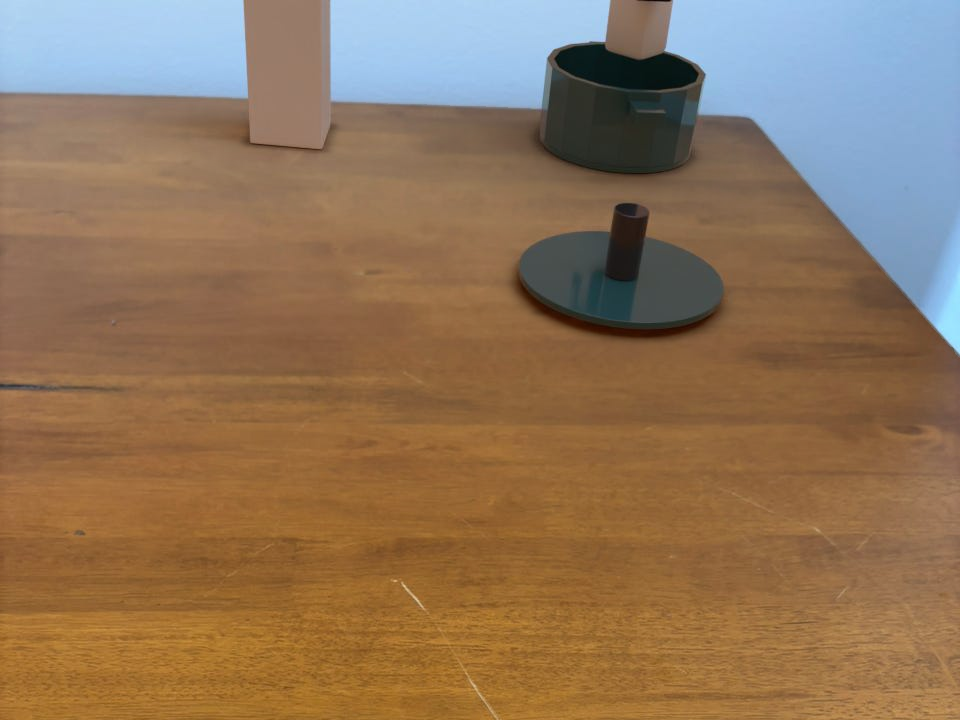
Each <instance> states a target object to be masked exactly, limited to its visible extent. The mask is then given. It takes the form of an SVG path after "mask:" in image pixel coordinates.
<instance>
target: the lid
mask: <svg viewBox="0 0 960 720" xmlns="http://www.w3.org/2000/svg"><path fill="white" fill-rule="evenodd" d="M611 218H612V219H611V223H610V224H611V225H610V231H609V230H608V231H606V230H605V231H604V230H584V231H574V232H566V233H561V234H556V235H552V236H549V237H546V238H543V239H541V240H539V241H537V242H534V243H533V244H532V245H530V246H529V247H527V248H526V249H525V250H524V251H523V253H522V254H521V256H520V259H519V260H518V271H517V273H518V279H519V281H520V282H521V284H522V286H523V287H524V289H525V290H526V291H527V292H528V293H529V294H530V295H531V296H532V297H533V298H534V299H536V300H537V301H539V302H540V303H541V304H543V305H545V306H546V307H548V308H550V309H551V310H554V311H556V312H558V313H560V314H563V315H565V316H568V317H570V318H574V319H577V320H579V321H580V320H581V321H584V322H587V323H590V324H596V325H601V326H606V327H611V328H618V329H619V328H620V329H629V330H661V329H662V330H663V329H671V328H672V329H673V328H678V327H683V326H686V325H689V324H694V323H696V322H699V321H701V320H704V319H705V318H707V317H709V316H710V315H711V314H713V313H714V312H715V311H716V310H717V309H718V308H719V307H720V305H721V303H722V300H723V296H724V289H725V287H724V283H723V280H722V277H721V275H720V273H718V271H717V270H716V269H715V268H714V267H713V266H712V265H711V264H710V263H709V262H708V261H706V260H704V259H703V258H702V257H700V256H698V255H696V254H694V253H693V252H691V251H689V250H687V249H685V248H684V247H680V246H678V245H675V244H673V243H670V242H667V241H663V240H662V239H661V240H660V239H657V238H653V237H650V236H649V237H648V236H647V231H648V224H649V219H650V210H649V209H648V208H647V207H645V206H644V205H642V204H638V203H633V202H622V203H618V204H615V206H614V207H613V212H612V217H611Z"/></svg>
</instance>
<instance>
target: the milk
mask: <svg viewBox="0 0 960 720" xmlns="http://www.w3.org/2000/svg"><path fill="white" fill-rule="evenodd" d="M242 3H243V21H244V41H245V60H246V61H245V62H246V82H247V101H248V102H247V103H248V105H247V106H248V122H249V123H248V124H249V125H248V126H249V142H250V144H257V145H258V144H259V145H268V146H269V145H270V146H280V147H289V148H290V147H291V148H301V149H302V148H303V149H310V150H311V149H313V150H323V147H324V145H325V142H326V139H327V136H328V134H329V131H330V128H331V124H332V101H331V99H332V97H331V96H332V94H331V93H332V91H331V90H332V88H331V87H332V85H331V84H332V83H331V81H332V80H331V79H332V77H331V76H332V75H331V74H332V73H331V72H332V71H331V70H332V69H331V63H332V62H331V60H332V59H331V57H332V56H331V54H332V53H331V50H332V49H331V0H243V2H242Z"/></svg>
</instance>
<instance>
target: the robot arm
mask: <svg viewBox="0 0 960 720" xmlns="http://www.w3.org/2000/svg"><path fill="white" fill-rule="evenodd" d="M637 1H658V2H670V1H671V0H637Z"/></svg>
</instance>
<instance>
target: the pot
mask: <svg viewBox="0 0 960 720" xmlns="http://www.w3.org/2000/svg"><path fill="white" fill-rule="evenodd" d="M706 77H707V73H705V71H704V70H703V69H702V68H701V66H700V65H699V64H698V63H696V62H694V61H692V60H690V59H688V58H686V57H683V56H681V55H679V54H677V53H674V52H669V51H666V50H664V52H663V53H661V54H658V55H655V56H652V57H649V58H646V59H642V60H636V59H633V58H630V57H626V56H623V55H619V54H616V53H612V52H610V51H608V50H607V49H606V47H605V41H593V40H591V41H588V42H579V43H569V44H566V45H562V46H560V47H557V48H555V49H553V50H552V51H551V52H550V53H549V55H548V56H547V57H546V63H545V73H544V83H543V93H542V102H541V109H540V120H539V127H538V131H539V133H540V134H539V140H540V143H541V144H542V146H543V147H544V148H545V149H546V150H547V151H549V152H550V153H551V154H553V155H554V156H556V157H558V158H560V159H562V160H565V161H567V162H568V163H569V162H570V163H571V164H575V165H578V166H581V167H586V168H589V169H592V170H599V171H603V172H611V173H619V174H653V173H661V172H667V171H670V170H674V169H676V168H678V167H681V166H683V165H684V164H685V163H687V162H688V160H689V158H690V156H691V150H692V148H693V144H694V139H695V135H696V129H697V123H698V119H699V114H700V108H701V103H702V99H703V93H704V88H705V83H706V82H705V81H706Z"/></svg>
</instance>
